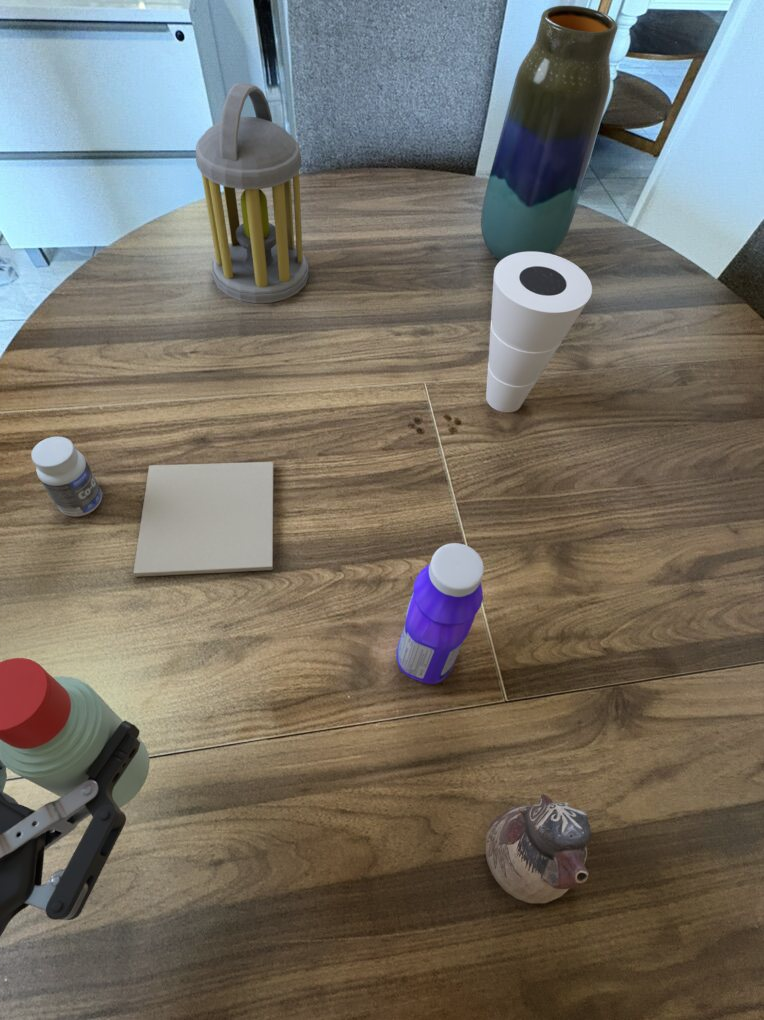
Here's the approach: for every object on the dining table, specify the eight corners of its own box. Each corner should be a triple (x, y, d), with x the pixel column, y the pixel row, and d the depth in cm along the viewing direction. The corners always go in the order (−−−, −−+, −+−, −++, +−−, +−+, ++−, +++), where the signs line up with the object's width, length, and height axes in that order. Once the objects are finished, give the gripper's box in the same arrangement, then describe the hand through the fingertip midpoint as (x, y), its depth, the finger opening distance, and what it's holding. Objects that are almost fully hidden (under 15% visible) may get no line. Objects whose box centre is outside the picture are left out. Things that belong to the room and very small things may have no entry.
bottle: (412, 610, 63) (436, 516, 49) (464, 630, 62) (505, 541, 48) (386, 674, 59) (405, 592, 45) (442, 697, 58) (479, 621, 44)
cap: (-11, 751, 34) (-44, 733, 31) (6, 683, 36) (-23, 659, 33) (64, 746, 35) (38, 728, 31) (77, 678, 37) (54, 655, 34)
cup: (506, 360, 85) (543, 241, 70) (560, 408, 81) (612, 291, 66) (447, 390, 81) (473, 270, 66) (501, 441, 77) (542, 325, 62)
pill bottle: (97, 518, 66) (70, 470, 59) (52, 517, 66) (19, 469, 59) (108, 483, 69) (83, 433, 62) (64, 481, 69) (35, 432, 62)
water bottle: (61, 816, 46) (-67, 759, 31) (76, 733, 49) (-33, 646, 34) (144, 809, 47) (59, 750, 31) (153, 728, 50) (80, 639, 35)
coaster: (134, 577, 63) (132, 573, 62) (150, 469, 71) (149, 465, 70) (273, 570, 64) (272, 566, 64) (273, 465, 72) (273, 461, 71)
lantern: (238, 237, 97) (214, 51, 77) (322, 259, 96) (320, 75, 75) (196, 288, 89) (155, 96, 69) (286, 313, 88) (272, 124, 67)
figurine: (563, 808, 53) (616, 781, 43) (574, 906, 49) (636, 900, 39) (481, 804, 53) (516, 776, 43) (486, 902, 49) (526, 895, 39)
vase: (521, 289, 95) (592, 50, 69) (456, 246, 100) (500, 10, 74) (575, 257, 101) (659, 26, 75) (511, 218, 106) (569, -10, 80)
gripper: (-54, 1083, 28) (170, 736, 37) (-283, 922, 30) (-20, 635, 39) (14, 1055, 34) (192, 764, 43) (-180, 923, 36) (27, 675, 45)
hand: (90, 703), depth 41 cm, fingers closed on water bottle, 6 cm apart
